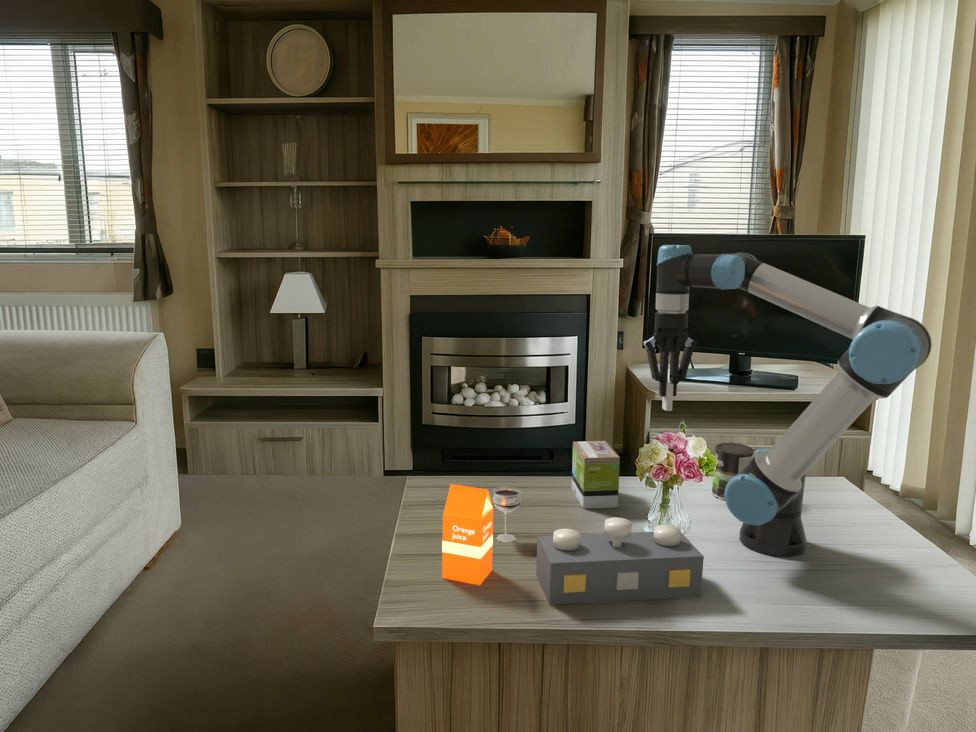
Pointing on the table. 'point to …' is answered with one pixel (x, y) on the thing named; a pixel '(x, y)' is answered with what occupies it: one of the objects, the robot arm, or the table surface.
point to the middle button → (617, 529)
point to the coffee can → (729, 464)
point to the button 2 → (667, 535)
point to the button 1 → (566, 539)
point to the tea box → (595, 474)
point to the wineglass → (506, 506)
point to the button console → (618, 569)
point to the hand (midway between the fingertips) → (667, 409)
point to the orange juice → (467, 535)
